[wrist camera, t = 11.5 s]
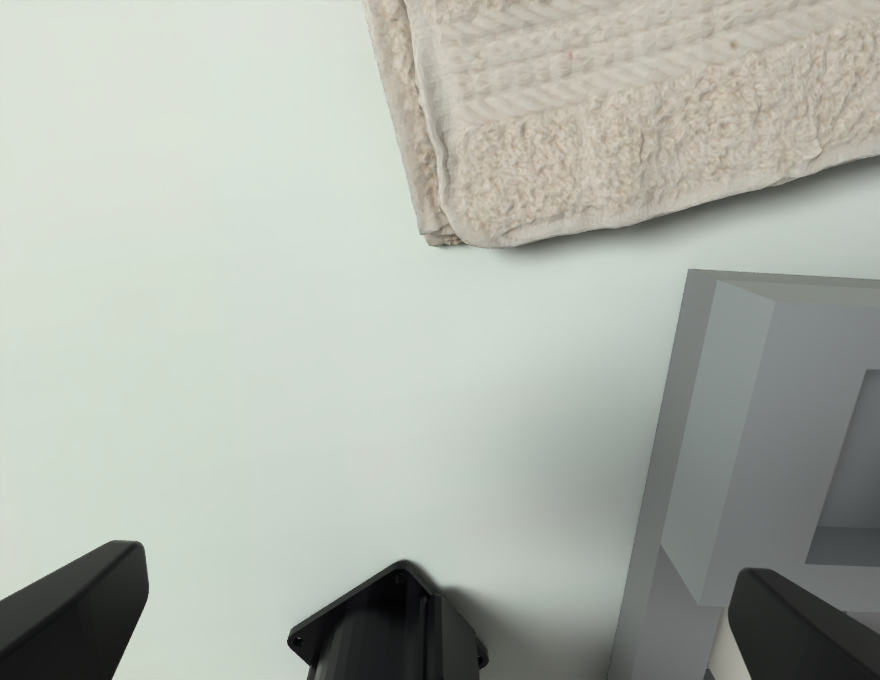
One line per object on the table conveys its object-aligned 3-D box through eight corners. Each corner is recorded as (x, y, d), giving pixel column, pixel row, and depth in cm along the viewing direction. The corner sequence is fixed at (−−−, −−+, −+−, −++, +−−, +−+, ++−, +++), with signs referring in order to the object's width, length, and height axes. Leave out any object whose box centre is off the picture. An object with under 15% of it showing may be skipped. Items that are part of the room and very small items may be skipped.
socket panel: (834, 702, 25) (928, 826, 20) (603, 695, 25) (644, 819, 20) (988, 285, 19) (1173, 323, 14) (688, 269, 19) (775, 301, 14)
